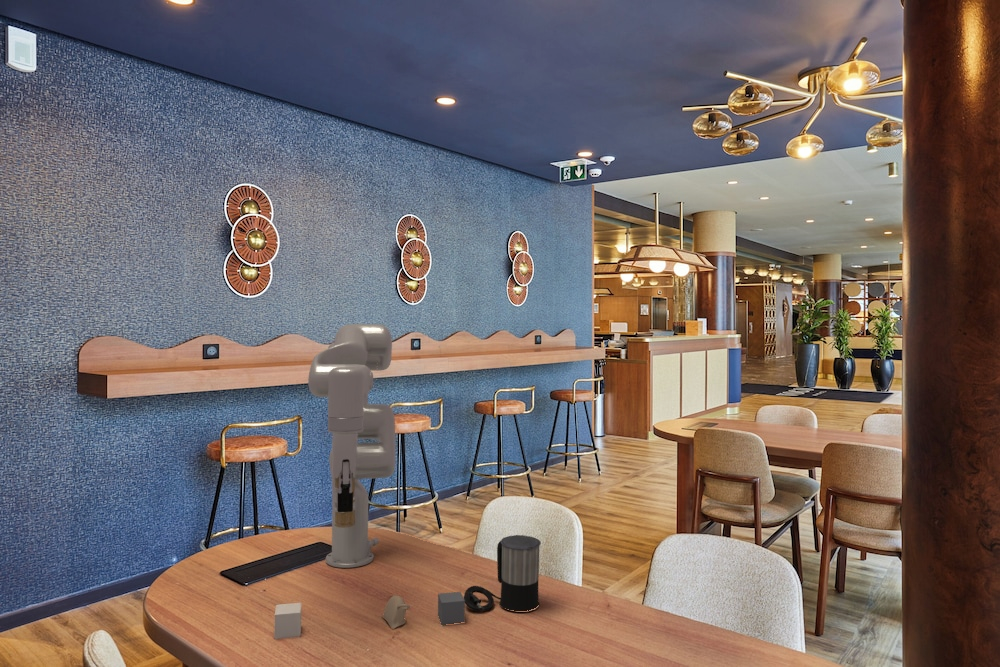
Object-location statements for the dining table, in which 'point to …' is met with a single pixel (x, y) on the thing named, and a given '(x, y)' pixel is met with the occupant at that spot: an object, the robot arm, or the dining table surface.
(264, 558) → the dining table surface
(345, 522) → the sprinkles bottle
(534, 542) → the milk frother
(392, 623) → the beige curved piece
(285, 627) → the off-white block
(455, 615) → the charcoal block
